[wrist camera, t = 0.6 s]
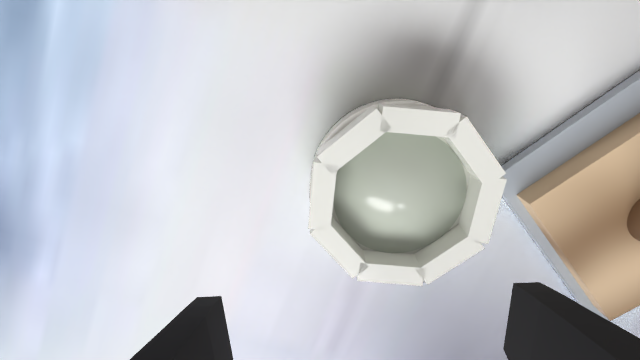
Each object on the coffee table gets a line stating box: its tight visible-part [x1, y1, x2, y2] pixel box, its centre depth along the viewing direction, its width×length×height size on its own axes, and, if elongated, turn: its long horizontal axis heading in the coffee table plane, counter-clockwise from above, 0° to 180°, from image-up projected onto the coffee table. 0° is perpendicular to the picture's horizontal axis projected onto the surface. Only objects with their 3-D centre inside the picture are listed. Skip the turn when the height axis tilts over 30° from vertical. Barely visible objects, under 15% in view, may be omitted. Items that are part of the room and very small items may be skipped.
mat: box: [501, 70, 640, 320], centre depth 18 cm, size 12×10×1 cm
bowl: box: [308, 99, 507, 286], centre depth 16 cm, size 8×8×3 cm
